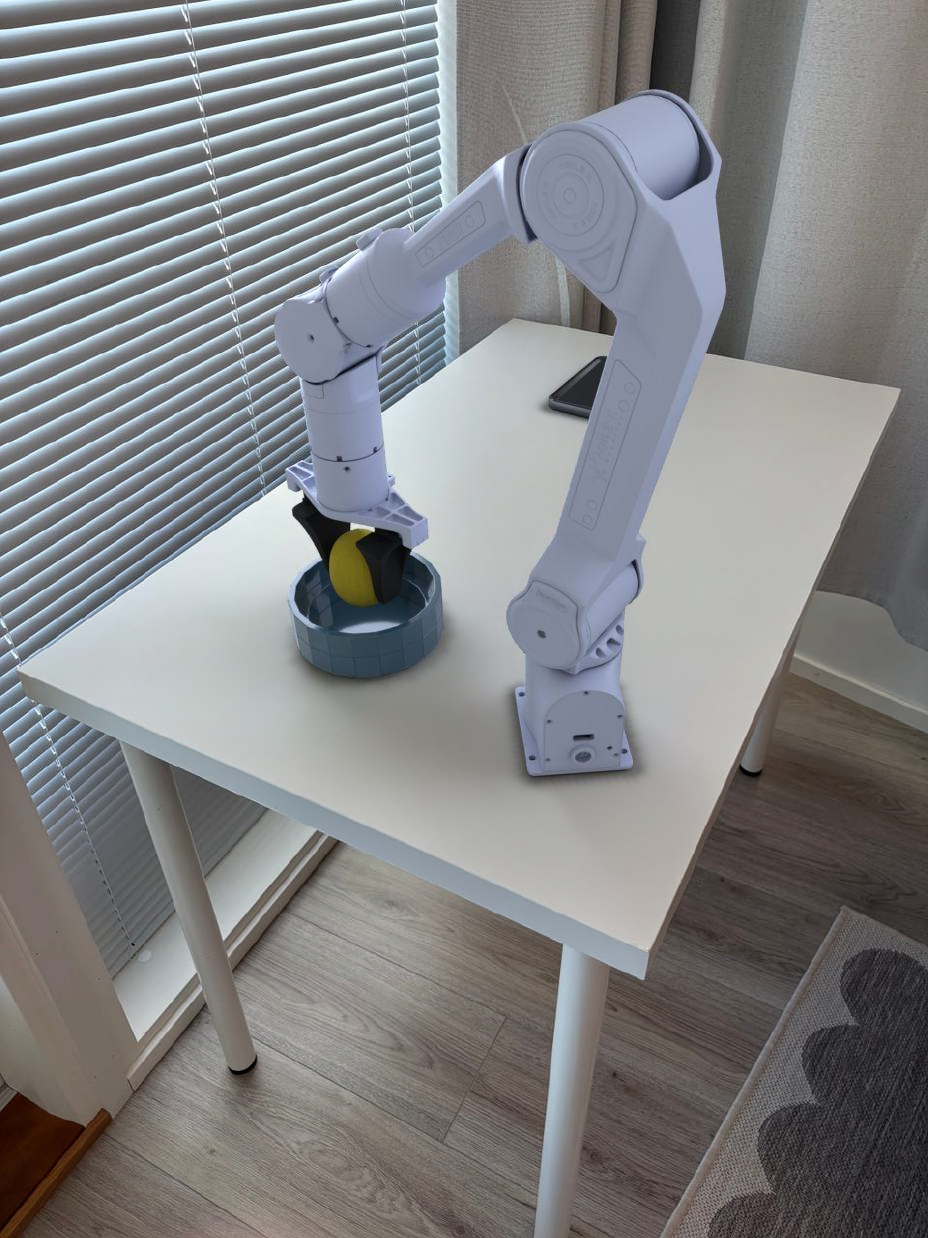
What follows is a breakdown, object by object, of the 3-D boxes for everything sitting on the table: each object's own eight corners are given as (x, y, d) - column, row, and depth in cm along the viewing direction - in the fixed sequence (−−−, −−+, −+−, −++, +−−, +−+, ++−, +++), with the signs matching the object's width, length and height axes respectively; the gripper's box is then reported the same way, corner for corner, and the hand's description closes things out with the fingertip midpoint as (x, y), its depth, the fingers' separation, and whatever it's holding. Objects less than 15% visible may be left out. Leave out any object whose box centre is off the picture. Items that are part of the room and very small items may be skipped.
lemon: (389, 629, 81) (380, 552, 76) (326, 622, 82) (314, 545, 77) (405, 590, 85) (398, 514, 80) (345, 584, 86) (335, 509, 81)
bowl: (447, 676, 80) (445, 631, 77) (291, 687, 80) (282, 642, 77) (440, 583, 91) (437, 540, 87) (301, 592, 90) (293, 549, 87)
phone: (545, 399, 117) (599, 354, 127) (545, 407, 118) (598, 361, 127) (603, 413, 114) (654, 365, 123) (602, 421, 114) (653, 373, 124)
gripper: (451, 451, 72) (458, 594, 80) (322, 399, 79) (340, 534, 88) (385, 490, 68) (400, 635, 76) (256, 431, 75) (282, 569, 84)
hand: (364, 584), depth 82 cm, fingers closed on lemon, 5 cm apart
